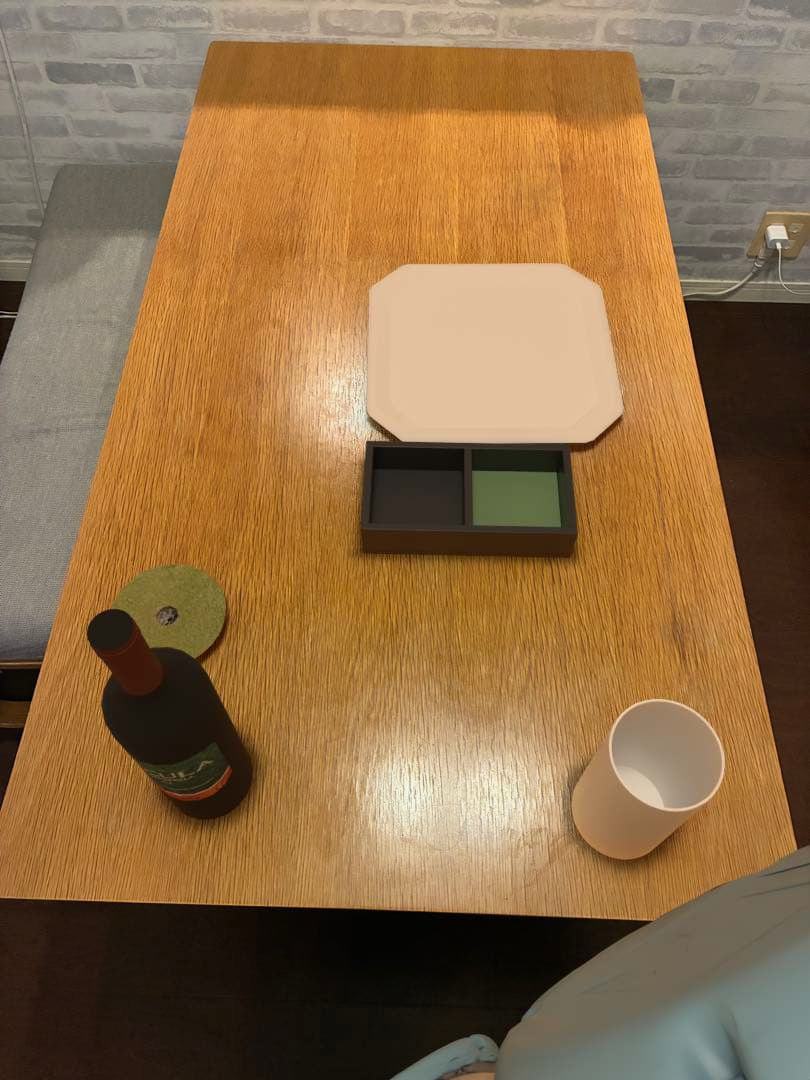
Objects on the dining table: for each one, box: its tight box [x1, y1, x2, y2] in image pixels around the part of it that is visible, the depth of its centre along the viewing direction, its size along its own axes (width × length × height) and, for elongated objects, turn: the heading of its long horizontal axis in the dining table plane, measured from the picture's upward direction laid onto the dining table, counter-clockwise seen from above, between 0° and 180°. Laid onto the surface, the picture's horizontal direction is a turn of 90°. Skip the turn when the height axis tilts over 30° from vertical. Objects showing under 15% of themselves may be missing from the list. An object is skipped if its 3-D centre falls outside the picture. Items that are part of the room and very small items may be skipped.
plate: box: [365, 262, 625, 446], centre depth 101 cm, size 29×29×2 cm
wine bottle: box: [86, 608, 254, 821], centre depth 63 cm, size 8×8×30 cm
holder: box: [360, 440, 579, 558], centre depth 89 cm, size 11×21×5 cm, turn 88°
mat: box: [110, 563, 227, 659], centre depth 83 cm, size 11×11×2 cm
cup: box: [571, 698, 726, 860], centre depth 67 cm, size 8×8×16 cm
